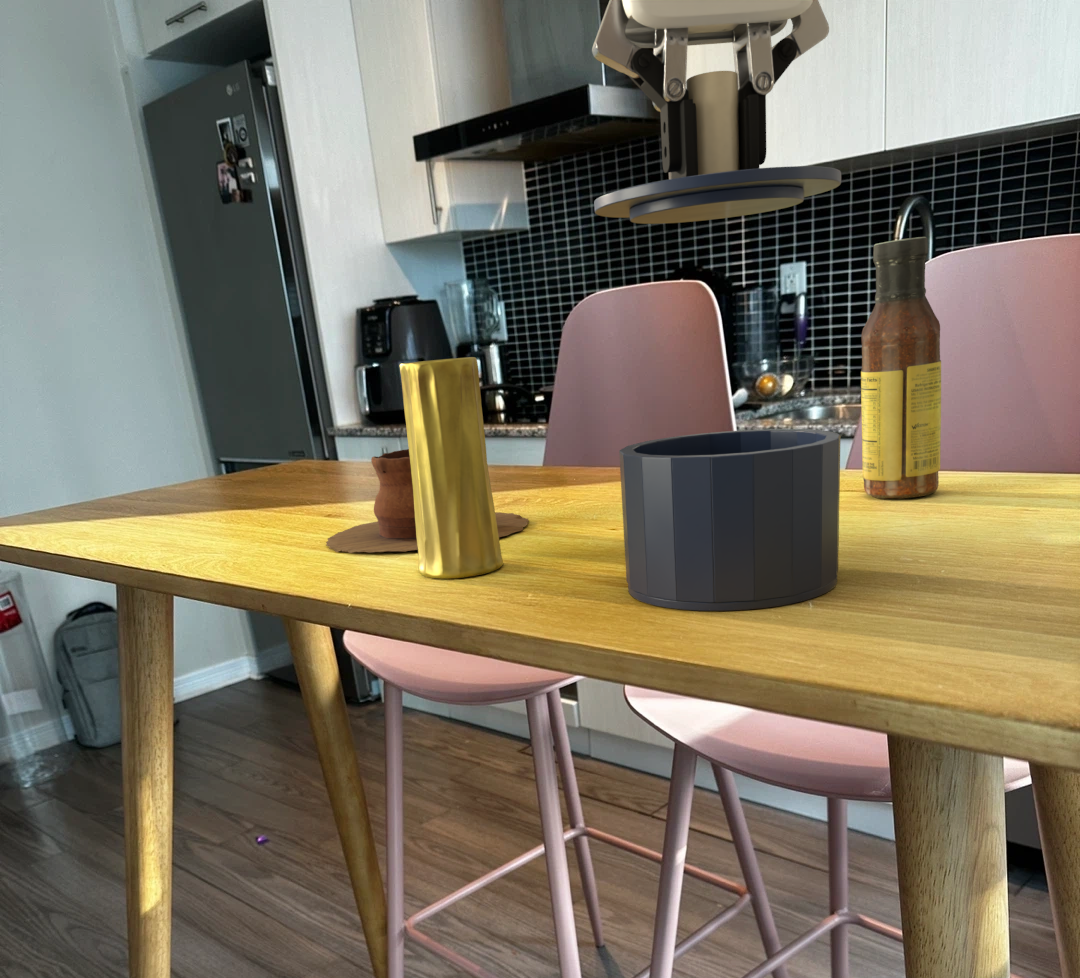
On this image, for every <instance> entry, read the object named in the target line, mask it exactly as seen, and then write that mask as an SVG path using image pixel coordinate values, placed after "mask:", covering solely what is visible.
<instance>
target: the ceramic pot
mask: <svg viewBox="0 0 1080 978" xmlns="http://www.w3.org/2000/svg"><path fill="white" fill-rule="evenodd" d="M370 460H371V465H372V467H373V468H374V470H375V473H376V476H377V478H378V481H379V490H378V493H377V494H376V496H375V499H374V504H373V514H374V516H375V518H376V520H377V521H372V522H367V523H361V524H358V525H355V526H352V527H350V528H348V529H344V530H342V531H339V532H337V533H334V535H331V536H329V537H328V538H327V539H326V540H327V541H326V542H325V543H326V544H325V545H326V546H327V547H328V548H329V549H330V550H334V552H336V553H338V552H339V553H340V552H342V553H343V552H346V553H349V554H352V553H363V552H364V553H370V554H371V553H384V552H404V553H407V552H408V551H418V546H417V537H416V523H415V510H414V494H413V483H412V474H411V464H410V455H409V448H407V449H400V450H393V451H392V452H384V453H382V454H381V455H380V456H375V455H374V456H372V457H371V459H370ZM495 515H496V522H497V529H498V535H499V538H502V537H506V536H510V535H511V534H514V533H517V532H521V531H523V530H525V529H524V528H525V527H526V526H527V525H528V524H529V523H530V521H529V518H526V517H523V516H521V514H516V513H513V512H500V511H499V512H496V511H495Z"/></svg>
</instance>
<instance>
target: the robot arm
mask: <svg viewBox="0 0 1080 978" xmlns="http://www.w3.org/2000/svg"><path fill="white" fill-rule="evenodd" d="M789 20H790V21H791V24H792V28H791V32H790V33H789V34H788V35H786V36H785V37H783V38H782V39H780V40H779V41H778V42H777V43H775V44H774V45H773V46H772V37H774V36H775V35H777V34H778V33H780V32H781V31H783V29H785V27H786V26H787V23H788V21H789ZM829 33H830V25H829V22H828V20H827V17H826V15H825V13H824V11H823V8H822V6H821V4H820V1H819V0H609V1H608V4H607V6H606V8H605V11H604V14H603V17H602V20H601V22H600V25H599V28H598V31H597V33H596V37H595V39H594V42H593V45H592V48H591V53H592V56H593V58H594V59H595V60H596V61H598V62H600V63H601V64H604V65H605V66H607V67H610V68H611V69H613V70H615V71H617V72H618V73H623V74H624V75H627V76H628V77H629V78H630V80H631V81H632V82H633V83H634V84H635V85H636V86H637V87H638V88H639V89H640V90H641V91H642V92H643V93H644V94H645V95H646V96H647V97H648V98H649V100H650V101H651V103H652V105H653V108H654V109H655V110H656V111H657V112H659V116H660V137H661V138H660V139H661V156H662V157H661V158H662V159H661V162H662V169H663V172H664V173H665V174H667V173H670V175H671V176H670V177H671V178H670V179H675V178H681V177H688V176H695V175H698V152H697V121H696V104H695V103H693V99H689V93H688V90H687V89H686V81H687V71H688V70H687V69H688V68H687V66H688V47H689V46H703V45H717V44H719V45H720V44H730V43H731V44H732V52H733V62H734V64H733V65H734V72H736V73H737V74H738V116H739V165H740V170H746V169H757V168H760V166H761V165H764V163H765V161H766V159H767V95H768V94H769V93H770V92H771V91H773V88H774V86H775V85H776V83H777V82H778V81H779V79H780V78H781V77H782V76H783V74H784V73H785V71H786V70H787V69H788V68H789V67H790V65H791V64H792V62H794V61H795V60H796V59H798V58H799V57H801V56H802V55H804V54H806V53H807V52H808V51H809V50H811V49H812V48H814V47H815V46H816V45H818V44H819V43H821V42H822V41H824V40H825V39H826V38H827V37H828V35H829ZM650 49H653V51H652V50H650Z"/></svg>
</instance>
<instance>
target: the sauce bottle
mask: <svg viewBox="0 0 1080 978" xmlns="http://www.w3.org/2000/svg"><path fill="white" fill-rule="evenodd" d="M928 241H929V239H928V238H927V237H926V236H918V237H909V238H901V239H895V240H894V239H893V240H890V241H884V242H879V243H875V244H874V245H873V255H872V256H873V257H872V260H873V263H874V267H875V296H874V304H875V305H874V306H873V309H872V312H871V313H870V315H869V317H868V319H867V321H866V322H865V324H864V327H863V328H862V331H861V336H860V337H861V369H860V370H861V371H860V387H861V388H860V391H861V392H860V396H861V398H860V399H861V400H860V401H861V403H860V404H861V407H860V409H861V448H862V449H861V455H862V458H861V459H862V461H861V464H862V465H861V467H862V479H863V489H864V490H863V491H864V492H865V493H866V495H867V496H870V497H873V498H876V499H878V500H879V499H880V500H881V499H899V500H900V499H901V500H902V499H903V500H904V499H909V498H910V499H911V498H919V497H925V496H928V495H931V494H935V493H936V492H937V491H938V488H939V484H940V483H939V481H940V480H939V478H940V477H939V472H940V470H941V446H942V444H941V443H942V442H941V441H942V439H941V436H942V434H941V432H942V360H941V324H940V321H939V319H938V318H937V315H936V314H935V312H934V310H933V308H932V306H931V304H930V302H929V300H928V299H927V296H926V293H927V289H926V284H925V283H926V260H927V257H928V254H929V244H928Z"/></svg>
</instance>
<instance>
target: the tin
mask: <svg viewBox="0 0 1080 978" xmlns="http://www.w3.org/2000/svg"><path fill="white" fill-rule="evenodd" d="M618 453H619V454H618V455H619V457H618V458H619V471H620V489H621V490H620V491H621V508H622V526H623V544H624V563H625V578H626V583H627V589H628V590H627V591H628V593H629V595H630V596H631V597H632V598H633V599H635V600H637V601H639V602H642V603H645V604H647V605H651V606H655V607H660V608H666V609H673V610H674V609H675V610H684V611H699V612H731V611H748V610H749V611H751V610H760V609H768V608H776V607H782V606H786V605H792V604H797V603H801V602H805V601H808V600H811V599H812V600H813V599H815V598H817V597H821V596H823V595H825V594H828V593H829V592H830V591H832V590H833V589H834V588H835V587H836V585H837V584H838V572H839V551H840V549H839V547H840V545H839V544H840V540H839V539H840V495H841V493H840V492H841V491H840V489H841V488H840V486H841V483H840V482H841V434H840V433H837V432H833V431H829V430H823V429H821V430H820V429H808V428H804V429H803V428H800V429H799V428H768V429H767V428H766V429H765V428H764V429H743V430H728V431H727V430H726V431H715V432H714V431H713V432H704V433H695V434H685V435H676V436H670V437H663V438H656V439H650V440H646V441H645V440H644V441H641V442H637V443H632V444H629V445H626V446H625V447H623V448H621V449H620V450H619V451H618Z"/></svg>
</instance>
